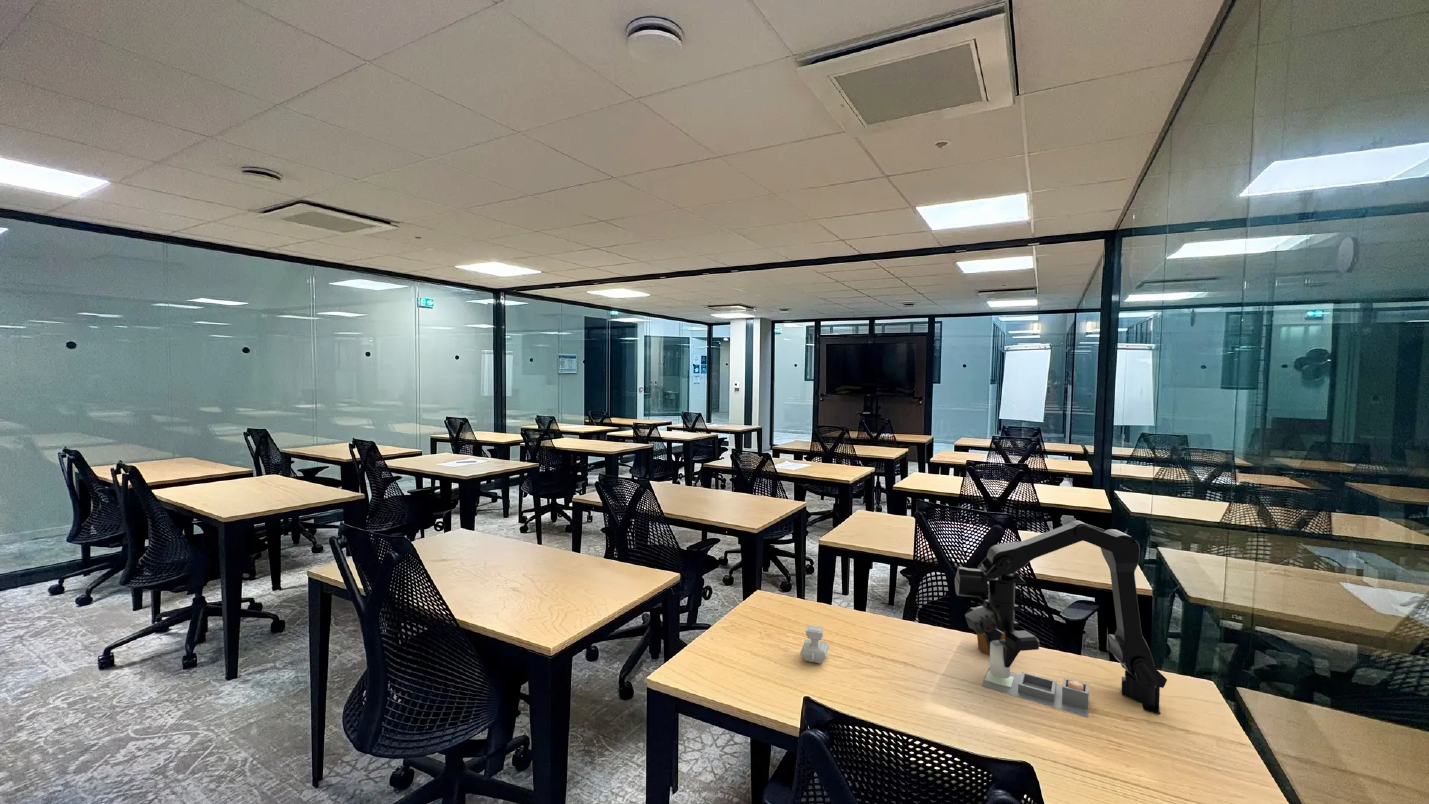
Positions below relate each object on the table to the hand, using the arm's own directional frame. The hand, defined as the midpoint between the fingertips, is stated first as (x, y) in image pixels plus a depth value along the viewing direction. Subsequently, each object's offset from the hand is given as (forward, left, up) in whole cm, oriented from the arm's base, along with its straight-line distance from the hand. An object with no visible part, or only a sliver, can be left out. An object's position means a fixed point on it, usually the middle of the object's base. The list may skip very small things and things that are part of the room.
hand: (1000, 662), depth 134 cm
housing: (-7, 0, -6) cm, 9 cm away
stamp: (+42, +15, -6) cm, 45 cm away
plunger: (-15, 0, -4) cm, 16 cm away
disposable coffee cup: (+4, -16, -6) cm, 18 cm away
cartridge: (0, 0, -3) cm, 3 cm away
